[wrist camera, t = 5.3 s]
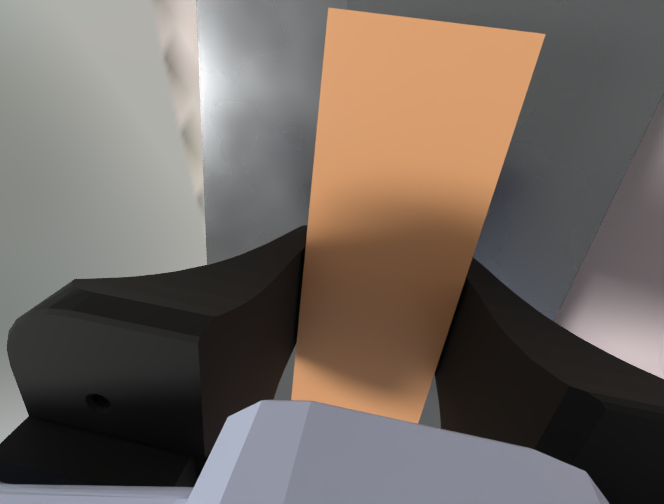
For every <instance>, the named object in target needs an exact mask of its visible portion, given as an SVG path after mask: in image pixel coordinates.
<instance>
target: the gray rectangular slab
mask: <svg viewBox="0 0 664 504" xmlns="http://www.w3.org/2000/svg"><path fill="white" fill-rule="evenodd" d="M196 6H197V30H198V54H199V78H200V103H201V127H202V151H203V175H204V199H205V223H206V247H207V265H209V264H213V263H216V262H220V261H223V260H226V259H230V258H233V257H235V256H238V255H241V254H244V253H246V252H248V251H251V250H253V249H255V248H258V247H260V246H262V245H265V244H267V243H269V242H271V241H273V240H275V239H277V238H279V237H281V236H283V235H285V234H287V233H289V232H290V231H292V230H294V229H296V228H298V227H300V226H303V225H307V226H308V217H309V206H310V196H311V185H312V175H313V164H314V153H315V143H316V132H317V122H318V111H319V100H320V90H321V79H322V69H323V58H324V48H325V37H326V26H327V16H328V8H336V9H345V10H353V11H361V12H369V13H377V14H386V15H394V16H402V17H410V18H418V19H426V20H435V21H443V22H451V23H459V24H467V25H476V26H484V27H492V28H500V29H508V30H517V31H525V32H533V33H541V34H546V35H545V38H544V41H543V44H542V47H541V50H540V53H539V56H538V59H537V62H536V65H535V68H534V71H533V74H532V77H531V80H530V84H529V87H528V90H527V93H526V96H525V99H524V102H523V105H522V108H521V111H520V114H519V117H518V120H517V123H516V126H515V129H514V132H513V135H512V138H511V142H510V145H509V148H508V151H507V154H506V157H505V160H504V163H503V166H502V169H501V172H500V175H499V178H498V181H497V184H496V187H495V190H494V193H493V196H492V200H491V203H490V206H489V209H488V212H487V215H486V218H485V221H484V224H483V227H482V230H481V233H480V236H479V239H478V242H477V245H476V248H475V251H474V255H473V257H474V258H475V259H476V260H477V261H478V262H480V263H481V264H482V265H483V266H484V267H485V268H486V269H488V270H489V271H490V272H491V273H492V274H493V275H494V276H495V277H497V278H498V279H499V280H500V281H501V282H502V283H503V284H505V285H506V286H507V287H508V288H509V289H511V290H512V291H513V292H514V293H515V294H517V295H518V296H519V297H520V298H522V299H523V300H524V301H526V302H527V303H528V304H530V305H531V306H532V307H533V308H535V309H536V310H538V311H539V312H540V313H542V314H543V315H545V316H546V317H548V318H549V319H551V320H552V321H554V319H555V317H556V315H557V313H558V311H559V309H560V307H561V305H562V303H563V301H564V299H565V297H566V294H567V292H568V290H569V288H570V286H571V284H572V282H573V280H574V278H575V276H576V274H577V272H578V270H579V267H580V265H581V263H582V261H583V259H584V257H585V255H586V253H587V251H588V249H589V247H590V245H591V243H592V241H593V238H594V236H595V234H596V232H597V230H598V228H599V226H600V224H601V222H602V220H603V218H604V216H605V214H606V211H607V209H608V207H609V205H610V203H611V201H612V199H613V197H614V195H615V193H616V191H617V189H618V187H619V184H620V182H621V180H622V178H623V176H624V174H625V172H626V170H627V168H628V166H629V164H630V162H631V160H632V158H633V155H634V153H635V151H636V149H637V147H638V145H639V143H640V141H641V139H642V137H643V135H644V133H645V131H646V128H647V126H648V124H649V122H650V120H651V118H652V116H653V114H654V112H655V110H656V108H657V106H658V104H659V102H660V99H661V97H662V95H663V93H664V0H196ZM296 344H297V343H296ZM295 354H296V345H295V347H294V350H293V352H292V354H291V356H290V358H289V361H288V363H287V365H286V367H285V369H284V372H283V374H282V377H281V379H280V382H279V385H278V388H277V391H276V394H275V397H274V400H291V397H292V386H293V376H294V365H295ZM418 424H422V425H426V426H431V427H435V428H440V429H441V421H440V410H439V401H438V394H437V387H436V381H435V374H434V377H433V380H432V383H431V386H430V389H429V392H428V395H427V398H426V401H425V404H424V407H423V410H422V413H421V416H420V419H419V422H418Z"/></svg>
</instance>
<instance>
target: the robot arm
mask: <svg viewBox="0 0 664 504" xmlns="http://www.w3.org/2000/svg"><path fill="white" fill-rule="evenodd" d="M307 227H308V226H307V225H303V226H300V227H298V228H296V229H294V230H292V231H290V232H289V233H287V234H285V235H283V236H281V237H279V238H277V239H275V240H273V241H271V242H269V243H267V244H265V245H262V246H260V247H258V248H255V249H253V250H251V251H248V252H246V253H244V254H241V255H238V256H235V257H233V258H230V259H226V260H223V261H220V262H216V263H213V264H209V265H205V266H200V267H195V268H190V269H186V270H181V271H176V272H169V273H162V274H155V275H146V276H136V277H122V278H98V279H74V280H73V281H72V282H70V283H69V284H67V285H66V286H64V287H63V288H61V289H60V290H59V291H57V292H56V293H54V294H53V295H51V296H50V297H48V298H47V299H45V300H44V301H42V302H41V303H40V304H38V305H37V306H35V307H34V308H32V309H31V310H30V311H28V312H26V313H25V314H24V315H22V316H21V317H20V318H18V319H17V320H16V321H15V323H14V324H13V326H12V327H11V329H10V330H9V334H8V341H7V352H8V356H9V361H10V366H11V368H12V371H13V374H14V376H15V379H16V382H17V385H18V387H19V390H20V393H21V395H22V398H23V401H24V404H25V406H26V409H27V412H28V414H29V417H28V418H27V419H26V420H25V421H24V422H22V423H21V424H20V426H18V427H17V428H16V429H15V430H14V431H13V432H12V433H11V434H10V435H9V436H8V437H7V438H6V439H5V440H4V441H3V442H2V443H1V444H0V504H664V379H662V378H659V377H657V376H655V375H653V374H651V373H648V372H646V371H644V370H642V369H639V368H637V367H635V366H633V365H631V364H629V363H627V362H625V361H623V360H621V359H619V358H617V357H615V356H613V355H611V354H609V353H607V352H605V351H603V350H601V349H599V348H598V347H596V346H594V345H592V344H590V343H588V342H586V341H585V340H583V339H581V338H579V337H578V336H576V335H574V334H573V333H571V332H569V331H568V330H566V329H565V328H563V327H561V326H560V325H558V324H557V323H555V322H554V321H552V320H551V319H549V318H548V317H546V316H545V315H543V314H542V313H540V312H539V311H538V310H536V309H535V308H533V307H532V306H531V305H530V304H528V303H527V302H526V301H524V300H523V299H522V298H520V297H519V296H518V295H517V294H515V293H514V292H513V291H512V290H511V289H509V288H508V287H507V286H506V285H505V284H503V283H502V282H501V281H500V280H499V279H498V278H497V277H495V276H494V275H493V274H492V273H491V272H490V271H489V270H488V269H486V268H485V267H484V266H483V265H482V264H481V263H480V262H478V261H477V260H476V259H475V258H474V257H473V258H472V261H471V264H470V267H469V270H468V273H467V276H466V279H465V282H464V285H463V288H462V291H461V294H460V297H459V300H458V303H457V306H456V309H455V313H454V316H453V319H452V322H451V325H450V328H449V331H448V334H447V337H446V340H445V343H444V346H443V349H442V352H441V355H440V358H439V361H438V364H437V368H436V371H435V381H436V387H437V394H438V401H439V410H440V421H441V429H440V428H435V427H431V426H426V425H422V424H417V423H412V422H408V421H403V420H398V419H394V418H389V417H385V416H380V415H375V414H371V413H366V412H362V411H357V410H352V409H348V408H343V407H338V406H334V405H329V404H325V403H320V402H315V401H303V400H274V397H275V394H276V391H277V388H278V385H279V382H280V379H281V377H282V374H283V372H284V369H285V367H286V365H287V363H288V361H289V358H290V356H291V354H292V352H293V350H294V347H295V345H296V343H297V333H298V323H299V312H300V301H301V291H302V280H303V270H304V259H305V249H306V238H307Z"/></svg>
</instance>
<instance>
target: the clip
mask: <svg viewBox="0 0 664 504" xmlns="http://www.w3.org/2000/svg"><path fill="white" fill-rule="evenodd" d="M545 35H546V34H541V33H533V32H525V31H517V30H508V29H500V28H492V27H484V26H476V25H467V24H459V23H451V22H443V21H435V20H426V19H418V18H410V17H402V16H394V15H386V14H377V13H369V12H361V11H353V10H345V9H336V8H328V16H327V26H326V37H325V48H324V58H323V69H322V79H321V90H320V100H319V111H318V122H317V132H316V143H315V153H314V164H313V175H312V185H311V196H310V206H309V217H308V227H307V238H306V249H305V259H304V270H303V280H302V291H301V301H300V312H299V323H298V333H297V344H296V354H295V365H294V376H293V386H292V397H291V400H303V401H315V402H320V403H325V404H329V405H334V406H338V407H343V408H348V409H352V410H357V411H362V412H366V413H371V414H375V415H380V416H385V417H389V418H394V419H398V420H403V421H408V422H412V423H417V424H418V422H419V419H420V416H421V413H422V410H423V407H424V404H425V401H426V398H427V395H428V392H429V389H430V386H431V383H432V380H433V377H434V374H435V371H436V368H437V364H438V361H439V358H440V355H441V352H442V349H443V346H444V343H445V340H446V337H447V334H448V331H449V328H450V325H451V322H452V319H453V316H454V313H455V309H456V306H457V303H458V300H459V297H460V294H461V291H462V288H463V285H464V282H465V279H466V276H467V273H468V270H469V267H470V264H471V261H472V258H473V255H474V251H475V248H476V245H477V242H478V239H479V236H480V233H481V230H482V227H483V224H484V221H485V218H486V215H487V212H488V209H489V206H490V203H491V200H492V196H493V193H494V190H495V187H496V184H497V181H498V178H499V175H500V172H501V169H502V166H503V163H504V160H505V157H506V154H507V151H508V148H509V145H510V142H511V138H512V135H513V132H514V129H515V126H516V123H517V120H518V117H519V114H520V111H521V108H522V105H523V102H524V99H525V96H526V93H527V90H528V87H529V84H530V80H531V77H532V74H533V71H534V68H535V65H536V62H537V59H538V56H539V53H540V50H541V47H542V44H543V41H544V38H545Z"/></svg>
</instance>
